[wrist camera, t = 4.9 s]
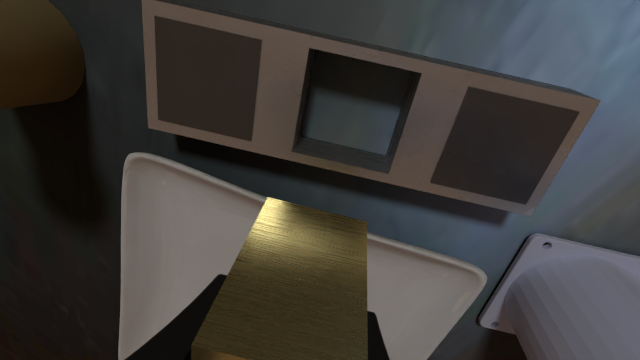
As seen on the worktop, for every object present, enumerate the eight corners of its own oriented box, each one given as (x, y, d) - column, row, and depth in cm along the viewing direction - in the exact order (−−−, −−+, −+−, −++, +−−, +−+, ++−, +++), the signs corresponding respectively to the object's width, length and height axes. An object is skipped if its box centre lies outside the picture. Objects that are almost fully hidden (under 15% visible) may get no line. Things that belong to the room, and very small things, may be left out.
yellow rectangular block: (367, 221, 13) (367, 389, 7) (342, 292, 15) (327, 470, 9) (267, 197, 13) (191, 344, 7) (256, 271, 15) (187, 434, 9)
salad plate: (139, 341, 30) (113, 378, 27) (153, 128, 20) (116, 149, 17) (360, 409, 31) (359, 453, 28) (478, 236, 21) (497, 274, 18)
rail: (569, 88, 16) (602, 101, 14) (512, 193, 19) (532, 217, 17) (170, -2, 16) (140, -3, 14) (172, 114, 19) (147, 128, 17)
